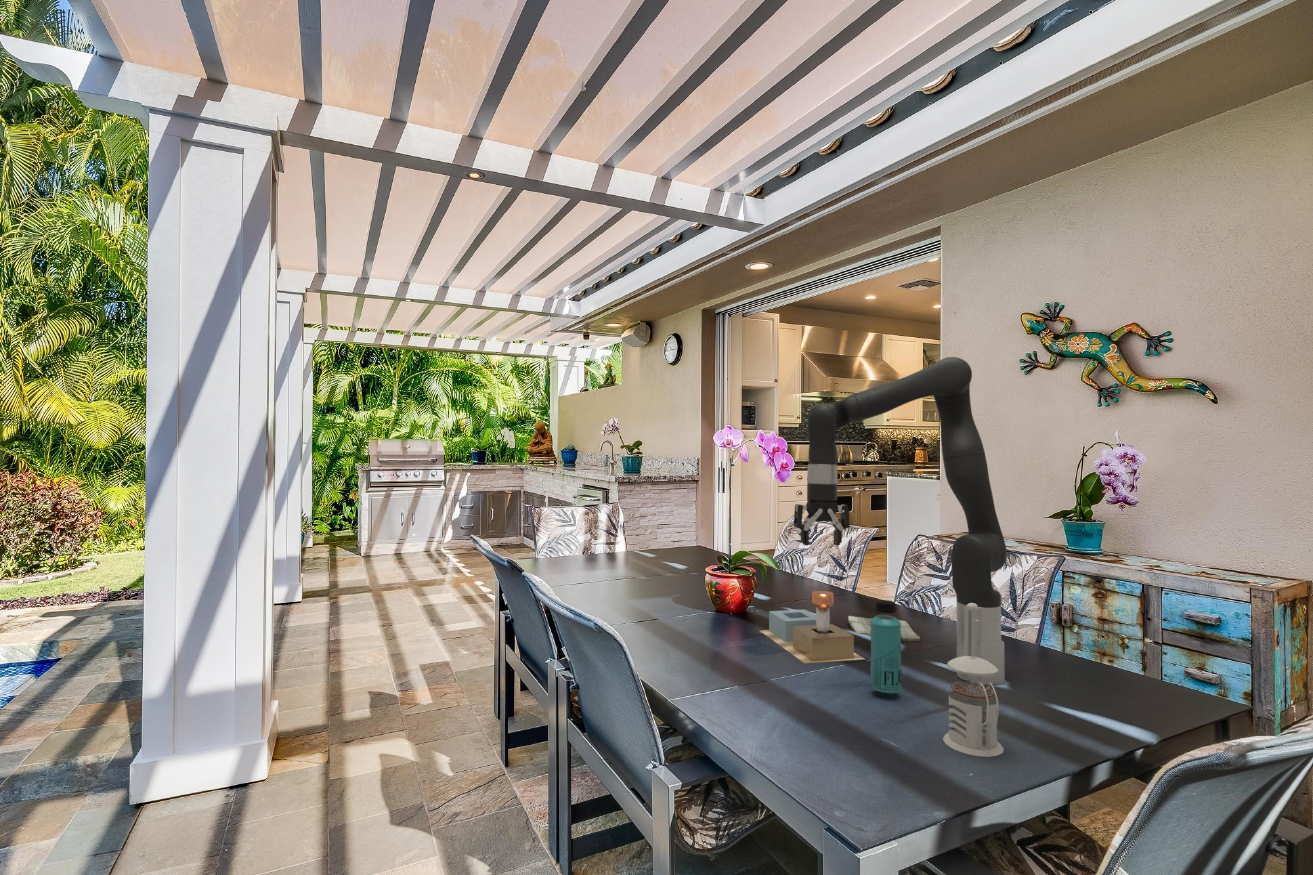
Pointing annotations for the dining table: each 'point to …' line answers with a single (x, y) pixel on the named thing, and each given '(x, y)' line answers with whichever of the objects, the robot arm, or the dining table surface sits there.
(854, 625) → the dish towel
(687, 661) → the dining table surface
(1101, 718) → the dining table surface
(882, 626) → the beverage bottle
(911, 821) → the dining table surface
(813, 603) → the steel peg
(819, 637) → the tan holed block
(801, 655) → the oak board
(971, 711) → the french press
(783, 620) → the socket block
